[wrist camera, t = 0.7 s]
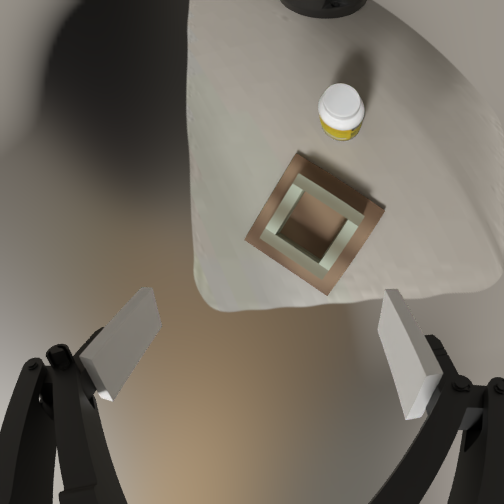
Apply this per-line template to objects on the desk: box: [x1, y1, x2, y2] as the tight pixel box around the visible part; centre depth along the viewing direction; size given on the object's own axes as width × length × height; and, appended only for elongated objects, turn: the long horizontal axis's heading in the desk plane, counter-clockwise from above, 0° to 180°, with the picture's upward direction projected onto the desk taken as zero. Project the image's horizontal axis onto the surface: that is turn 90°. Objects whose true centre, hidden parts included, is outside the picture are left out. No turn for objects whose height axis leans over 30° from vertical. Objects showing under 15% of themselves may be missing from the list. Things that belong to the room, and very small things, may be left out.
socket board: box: [244, 154, 385, 296], centre depth 37 cm, size 14×14×4 cm
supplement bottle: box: [318, 83, 365, 141], centre depth 30 cm, size 5×5×10 cm
